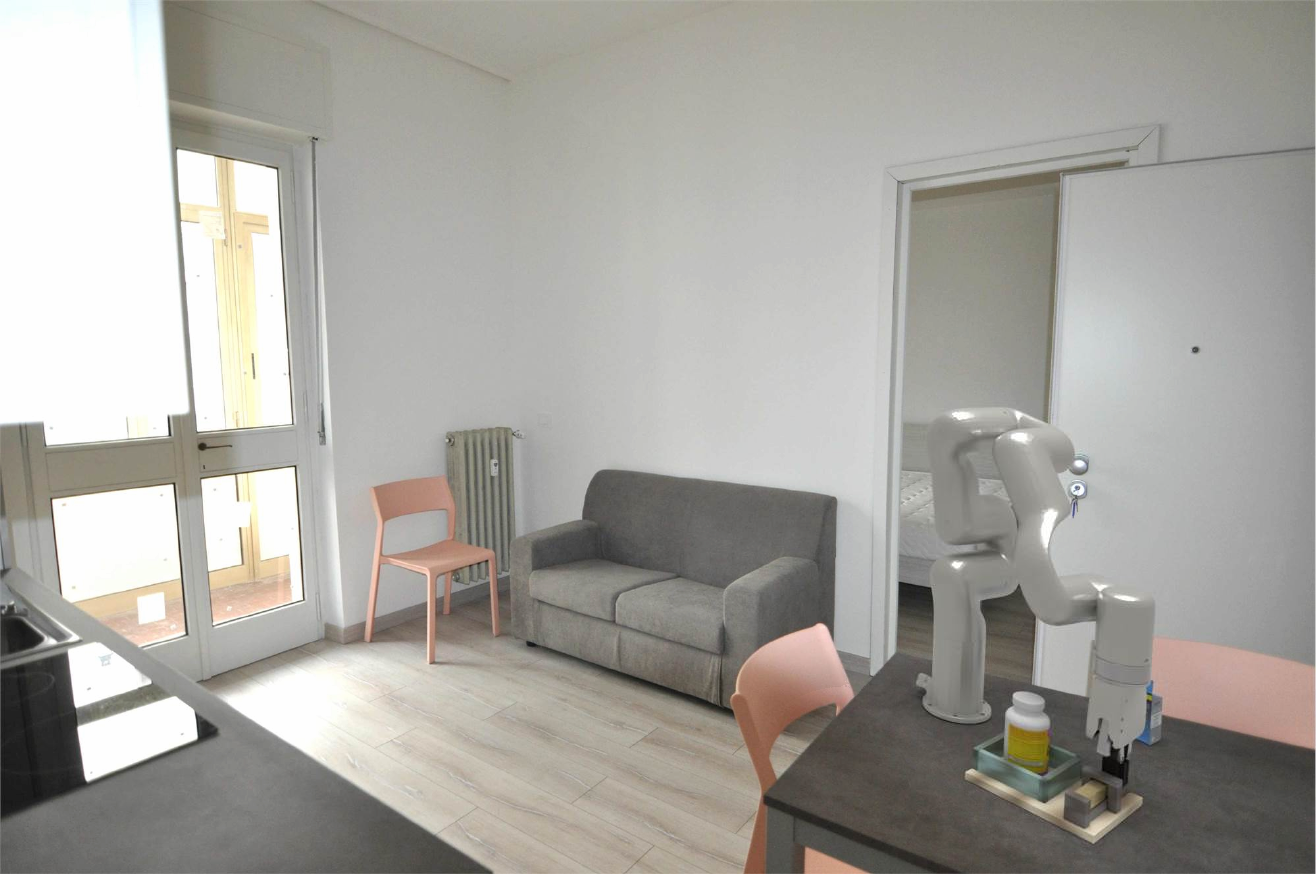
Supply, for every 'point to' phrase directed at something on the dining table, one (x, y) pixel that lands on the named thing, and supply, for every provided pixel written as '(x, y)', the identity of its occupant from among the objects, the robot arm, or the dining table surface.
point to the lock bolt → (1094, 791)
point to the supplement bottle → (1027, 733)
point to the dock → (1054, 789)
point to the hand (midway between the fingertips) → (1114, 781)
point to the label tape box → (1152, 717)
